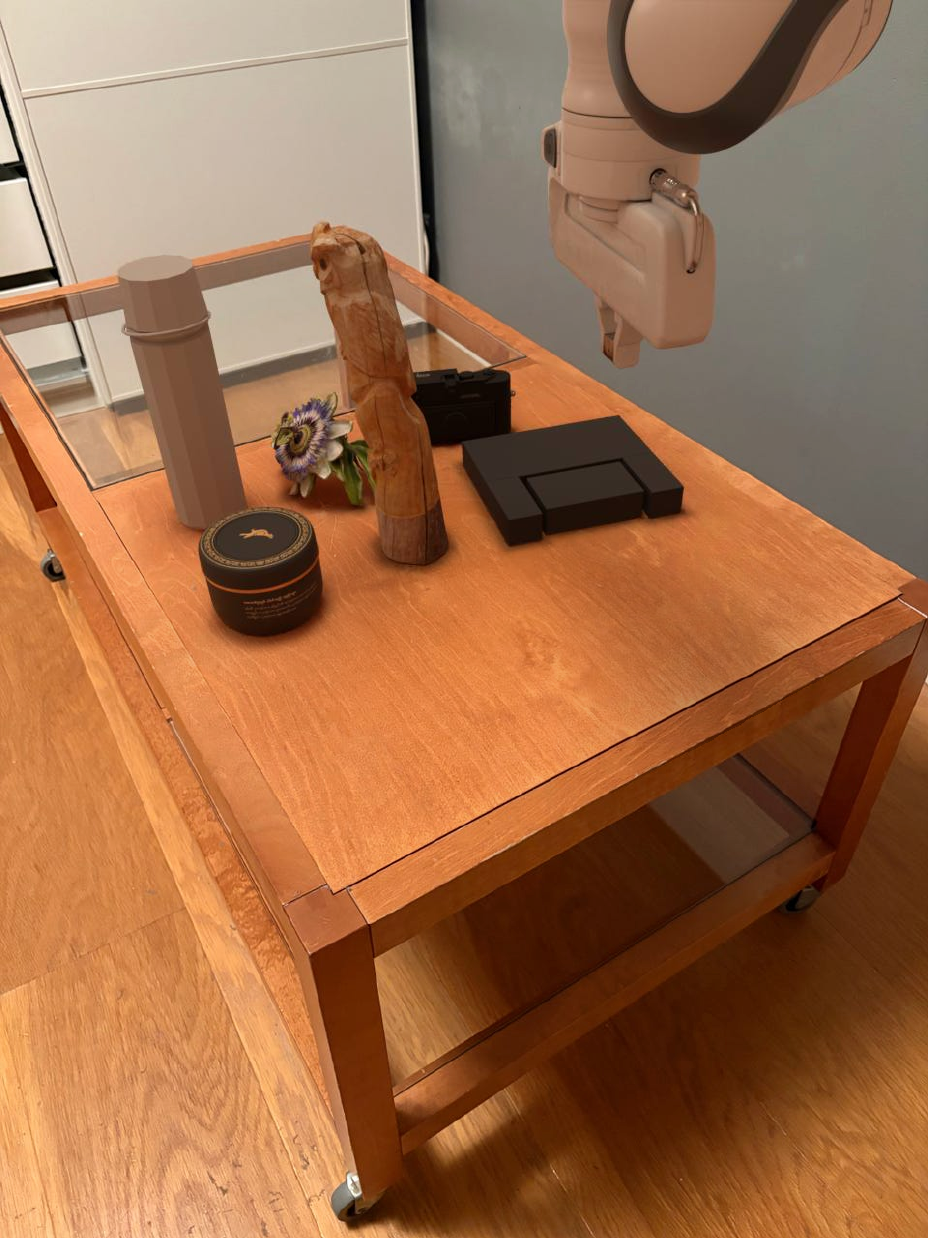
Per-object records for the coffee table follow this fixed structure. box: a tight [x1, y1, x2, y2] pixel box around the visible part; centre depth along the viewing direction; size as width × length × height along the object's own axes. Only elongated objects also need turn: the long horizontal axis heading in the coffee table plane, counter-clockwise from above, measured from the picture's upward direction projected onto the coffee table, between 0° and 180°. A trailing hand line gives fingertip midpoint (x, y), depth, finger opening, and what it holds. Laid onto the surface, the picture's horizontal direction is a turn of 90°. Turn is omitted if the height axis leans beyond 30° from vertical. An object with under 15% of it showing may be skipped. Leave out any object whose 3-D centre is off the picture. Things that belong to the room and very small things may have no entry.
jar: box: [197, 506, 324, 638], centre depth 82 cm, size 10×10×8 cm
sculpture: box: [309, 220, 450, 566], centre depth 81 cm, size 7×9×30 cm
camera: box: [411, 367, 517, 447], centre depth 106 cm, size 14×7×8 cm, turn 98°
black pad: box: [527, 462, 644, 536], centre depth 94 cm, size 10×6×3 cm, turn 106°
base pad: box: [461, 414, 685, 547], centre depth 97 cm, size 18×16×3 cm
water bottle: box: [116, 254, 248, 531], centre depth 89 cm, size 9×8×25 cm
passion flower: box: [270, 391, 376, 508], centre depth 98 cm, size 11×11×12 cm
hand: (619, 360), depth 69 cm, fingers closed
